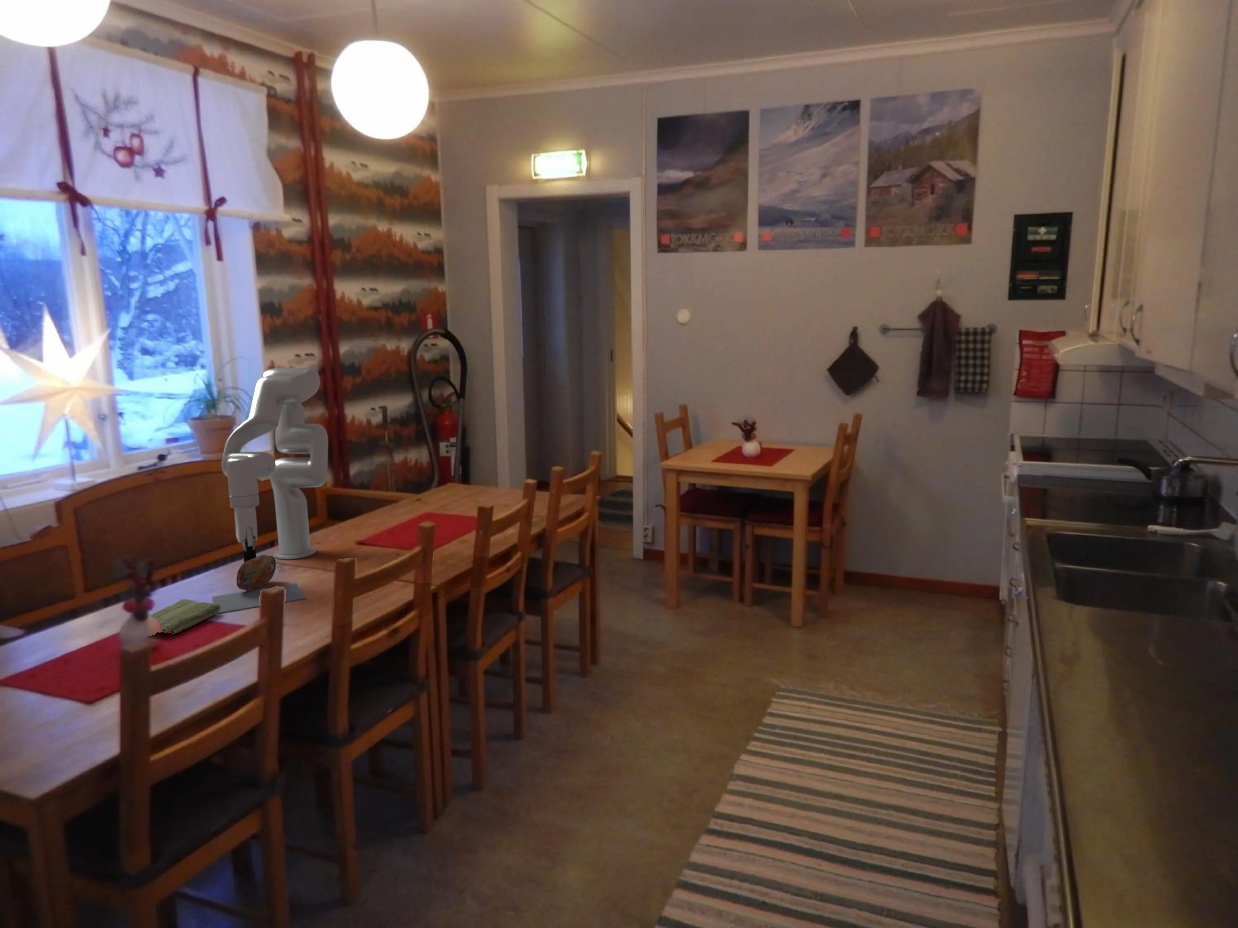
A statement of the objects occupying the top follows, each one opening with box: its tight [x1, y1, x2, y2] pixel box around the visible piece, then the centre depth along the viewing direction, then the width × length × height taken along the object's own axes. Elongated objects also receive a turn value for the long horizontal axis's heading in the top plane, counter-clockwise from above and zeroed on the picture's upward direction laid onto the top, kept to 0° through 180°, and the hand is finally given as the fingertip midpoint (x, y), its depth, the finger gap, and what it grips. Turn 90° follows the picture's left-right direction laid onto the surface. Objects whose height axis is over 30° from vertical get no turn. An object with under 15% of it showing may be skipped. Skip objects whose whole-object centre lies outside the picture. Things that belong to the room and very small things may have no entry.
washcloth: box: [149, 598, 221, 634], centre depth 214 cm, size 13×18×3 cm
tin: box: [236, 554, 277, 591], centre depth 240 cm, size 15×3×8 cm, turn 168°
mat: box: [211, 582, 307, 615], centre depth 232 cm, size 15×22×1 cm
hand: (250, 563), depth 242 cm, fingers closed
